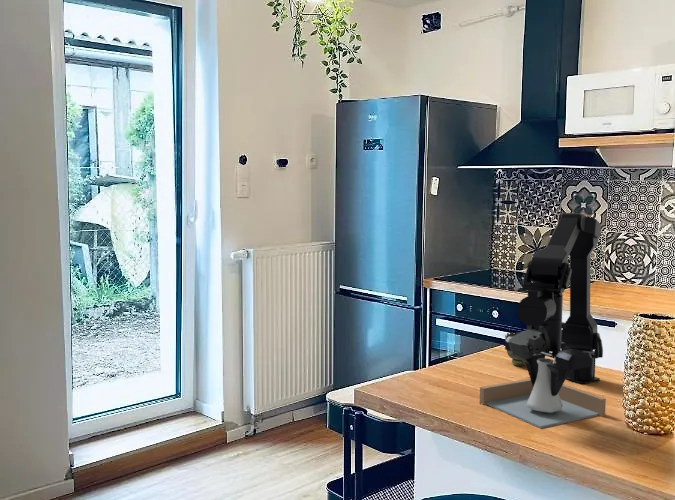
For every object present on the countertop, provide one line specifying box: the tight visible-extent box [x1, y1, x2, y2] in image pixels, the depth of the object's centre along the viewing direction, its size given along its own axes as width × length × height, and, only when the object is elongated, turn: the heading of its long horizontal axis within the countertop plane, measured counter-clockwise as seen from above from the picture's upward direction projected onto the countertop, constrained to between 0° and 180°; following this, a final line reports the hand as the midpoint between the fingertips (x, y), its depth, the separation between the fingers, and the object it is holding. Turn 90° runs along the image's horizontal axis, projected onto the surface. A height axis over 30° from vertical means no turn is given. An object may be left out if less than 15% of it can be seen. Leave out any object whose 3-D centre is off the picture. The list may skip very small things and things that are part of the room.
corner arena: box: [479, 378, 607, 429], centre depth 135 cm, size 18×18×4 cm
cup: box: [504, 331, 526, 367], centre depth 170 cm, size 8×7×8 cm
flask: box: [526, 357, 563, 413], centre depth 132 cm, size 7×7×10 cm
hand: (544, 392), depth 132 cm, fingers closed on flask, 5 cm apart
